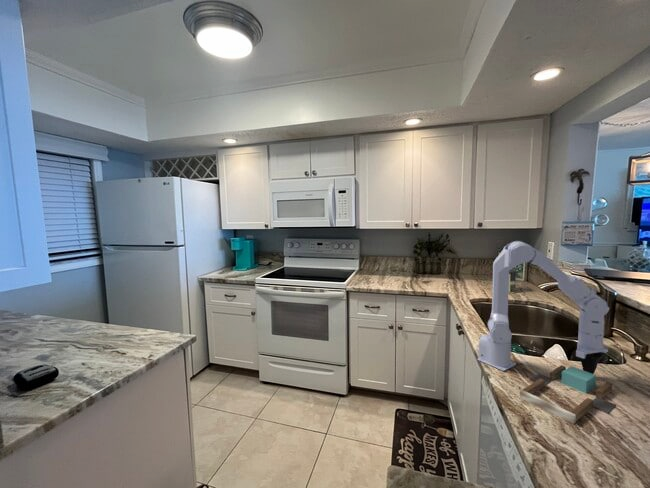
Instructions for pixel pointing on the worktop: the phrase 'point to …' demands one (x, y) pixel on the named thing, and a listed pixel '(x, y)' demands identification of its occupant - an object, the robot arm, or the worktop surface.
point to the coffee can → (512, 281)
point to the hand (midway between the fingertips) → (588, 372)
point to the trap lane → (564, 414)
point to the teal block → (578, 379)
